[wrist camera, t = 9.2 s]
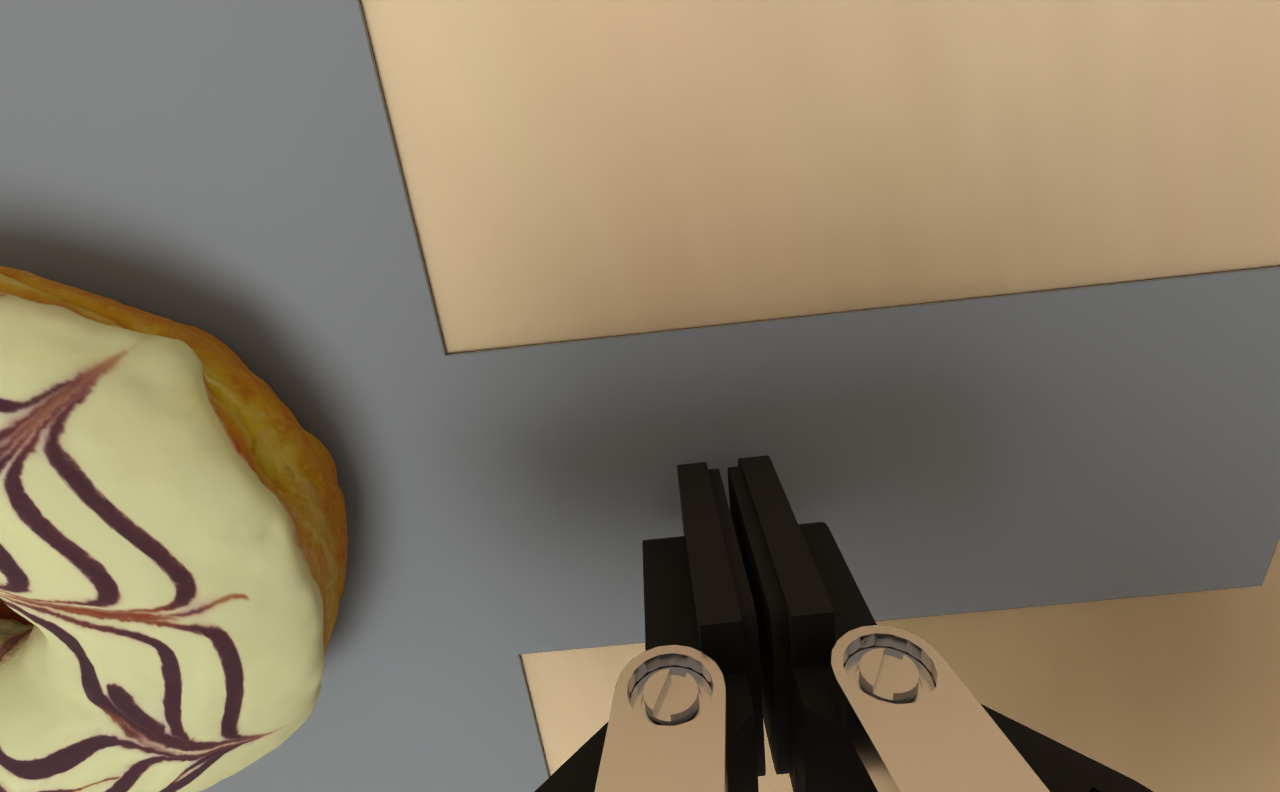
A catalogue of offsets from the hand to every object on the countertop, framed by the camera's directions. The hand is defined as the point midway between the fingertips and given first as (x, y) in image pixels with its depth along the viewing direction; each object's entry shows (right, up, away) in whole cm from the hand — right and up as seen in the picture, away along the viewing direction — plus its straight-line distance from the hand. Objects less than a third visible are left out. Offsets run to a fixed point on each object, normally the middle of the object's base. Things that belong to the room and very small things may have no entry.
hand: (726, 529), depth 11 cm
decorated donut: (-12, 0, +1) cm, 12 cm away
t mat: (-4, 0, +1) cm, 4 cm away
